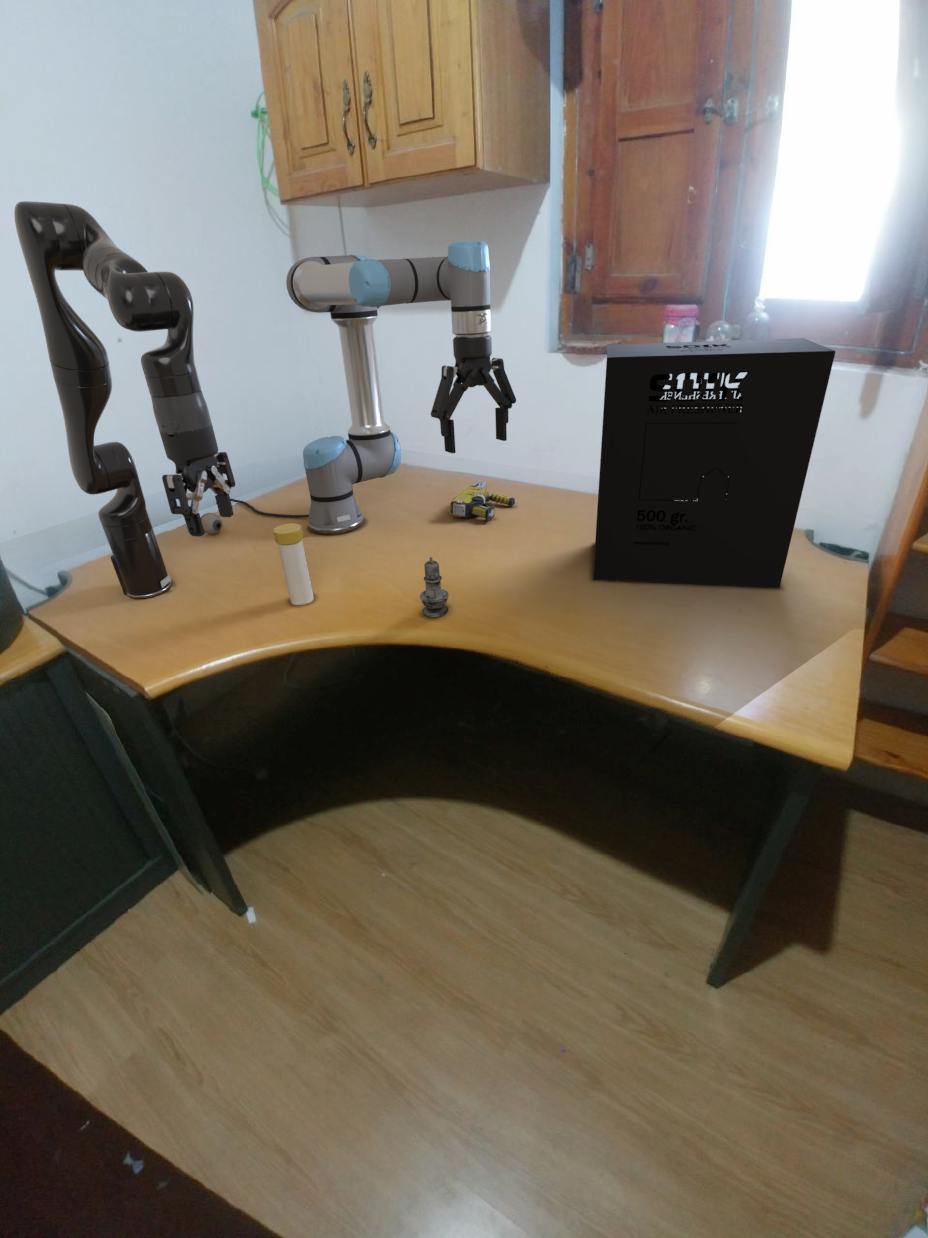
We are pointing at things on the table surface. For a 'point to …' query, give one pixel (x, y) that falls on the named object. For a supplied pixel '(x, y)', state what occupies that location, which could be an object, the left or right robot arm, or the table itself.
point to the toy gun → (477, 502)
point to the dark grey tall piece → (433, 591)
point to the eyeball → (211, 523)
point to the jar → (296, 573)
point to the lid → (288, 534)
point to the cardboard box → (706, 459)
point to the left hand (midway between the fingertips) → (213, 525)
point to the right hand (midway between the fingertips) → (476, 445)
